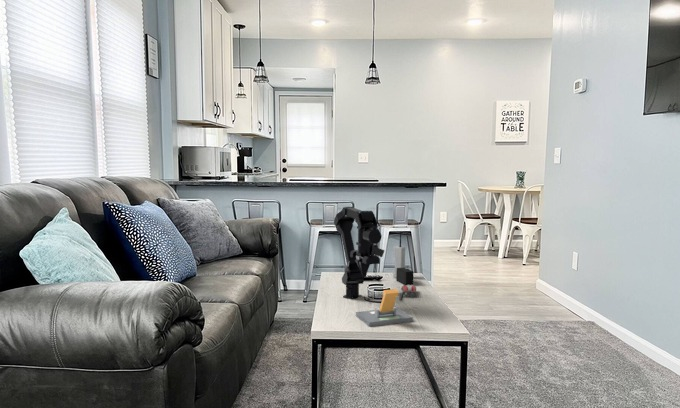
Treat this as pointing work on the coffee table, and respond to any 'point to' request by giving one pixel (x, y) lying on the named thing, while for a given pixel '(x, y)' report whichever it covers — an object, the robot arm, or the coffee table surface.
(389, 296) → the breaker lever
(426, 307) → the coffee table surface
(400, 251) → the vintage mobile phone
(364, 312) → the box
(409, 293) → the walkie-talkie
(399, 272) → the digital camera
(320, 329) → the coffee table surface
